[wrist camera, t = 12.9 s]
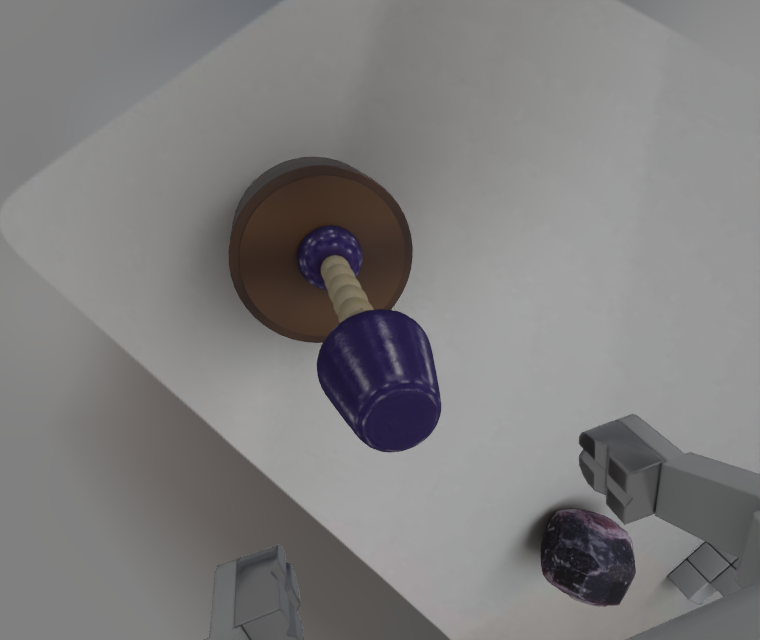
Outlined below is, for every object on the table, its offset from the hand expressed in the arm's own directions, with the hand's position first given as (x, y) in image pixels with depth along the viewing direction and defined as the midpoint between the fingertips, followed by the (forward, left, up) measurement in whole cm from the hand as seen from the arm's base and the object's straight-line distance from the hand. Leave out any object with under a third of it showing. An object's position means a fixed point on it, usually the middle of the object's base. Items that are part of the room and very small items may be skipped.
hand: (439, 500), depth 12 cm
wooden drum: (0, 0, -25) cm, 25 cm away
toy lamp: (0, 0, -20) cm, 20 cm away
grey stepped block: (+67, +46, -26) cm, 85 cm away
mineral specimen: (+44, +20, -26) cm, 55 cm away
